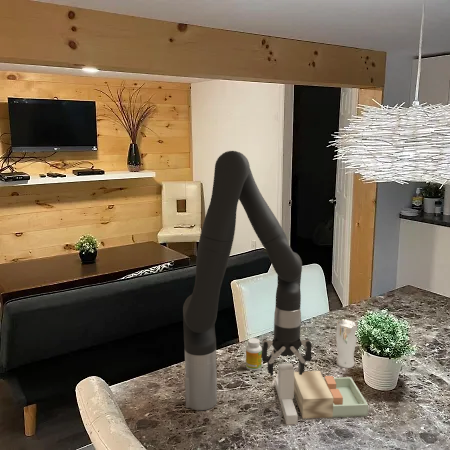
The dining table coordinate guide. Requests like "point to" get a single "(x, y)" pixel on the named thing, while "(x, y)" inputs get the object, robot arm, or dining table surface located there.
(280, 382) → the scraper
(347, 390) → the box
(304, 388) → the tan block
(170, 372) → the dining table surface
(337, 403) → the tile front
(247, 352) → the supplement bottle
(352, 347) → the beer glass
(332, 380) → the tile back
